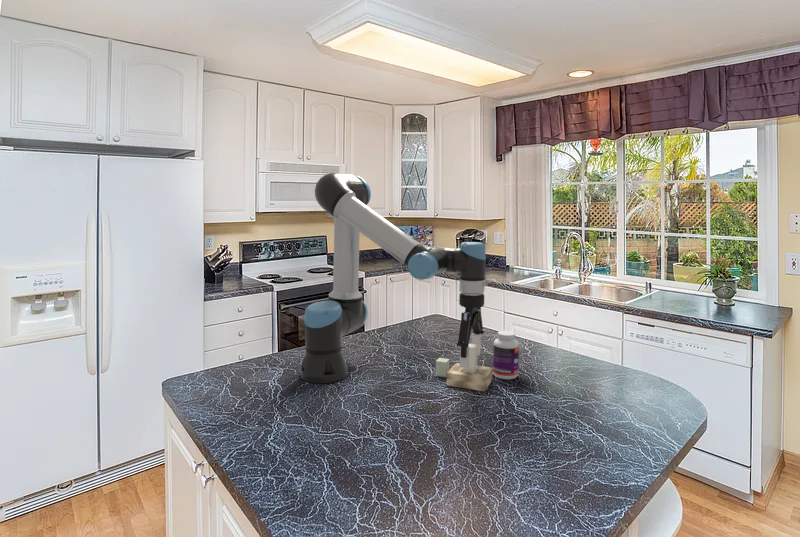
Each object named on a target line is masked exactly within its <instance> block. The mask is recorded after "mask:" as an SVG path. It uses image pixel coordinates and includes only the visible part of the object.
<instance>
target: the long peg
mask: <svg viewBox="0 0 800 537" xmlns="http://www.w3.org/2000/svg"><path fill="white" fill-rule="evenodd" d="M478 355H479V354H478V345H476V344H472V343H469V368H463V372H465V373H472V374H476V373H477V366H478Z"/></svg>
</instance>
